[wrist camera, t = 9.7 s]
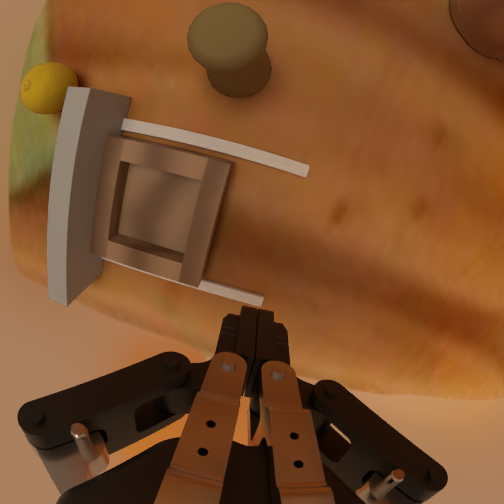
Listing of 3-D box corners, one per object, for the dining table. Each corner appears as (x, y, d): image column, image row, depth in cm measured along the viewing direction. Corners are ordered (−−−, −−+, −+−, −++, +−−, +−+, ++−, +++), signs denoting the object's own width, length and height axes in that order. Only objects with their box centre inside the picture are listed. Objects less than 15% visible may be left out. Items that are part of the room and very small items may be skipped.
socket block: (234, 162, 27) (230, 164, 24) (203, 274, 31) (198, 287, 29) (120, 135, 27) (106, 135, 24) (103, 243, 31) (90, 252, 28)
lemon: (69, 61, 24) (25, 49, 16) (99, 79, 25) (55, 68, 17) (46, 102, 25) (0, 101, 18) (74, 123, 26) (27, 124, 19)
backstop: (316, 143, 27) (335, 144, 19) (255, 320, 34) (252, 368, 26) (112, 95, 25) (68, 86, 18) (85, 267, 32) (49, 298, 25)
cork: (232, 109, 26) (212, 91, 16) (194, 64, 24) (157, 27, 14) (284, 74, 24) (296, 37, 14) (246, 30, 23) (235, -24, 12)
